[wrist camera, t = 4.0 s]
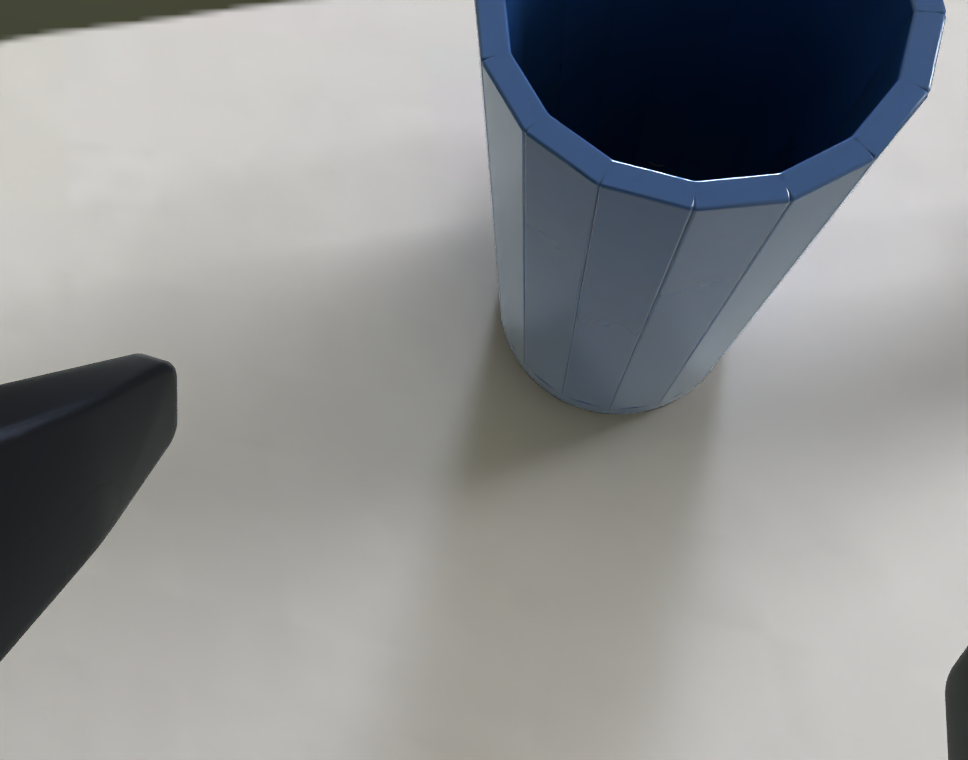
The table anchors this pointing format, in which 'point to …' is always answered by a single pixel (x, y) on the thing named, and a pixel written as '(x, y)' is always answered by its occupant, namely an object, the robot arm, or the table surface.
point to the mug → (675, 169)
